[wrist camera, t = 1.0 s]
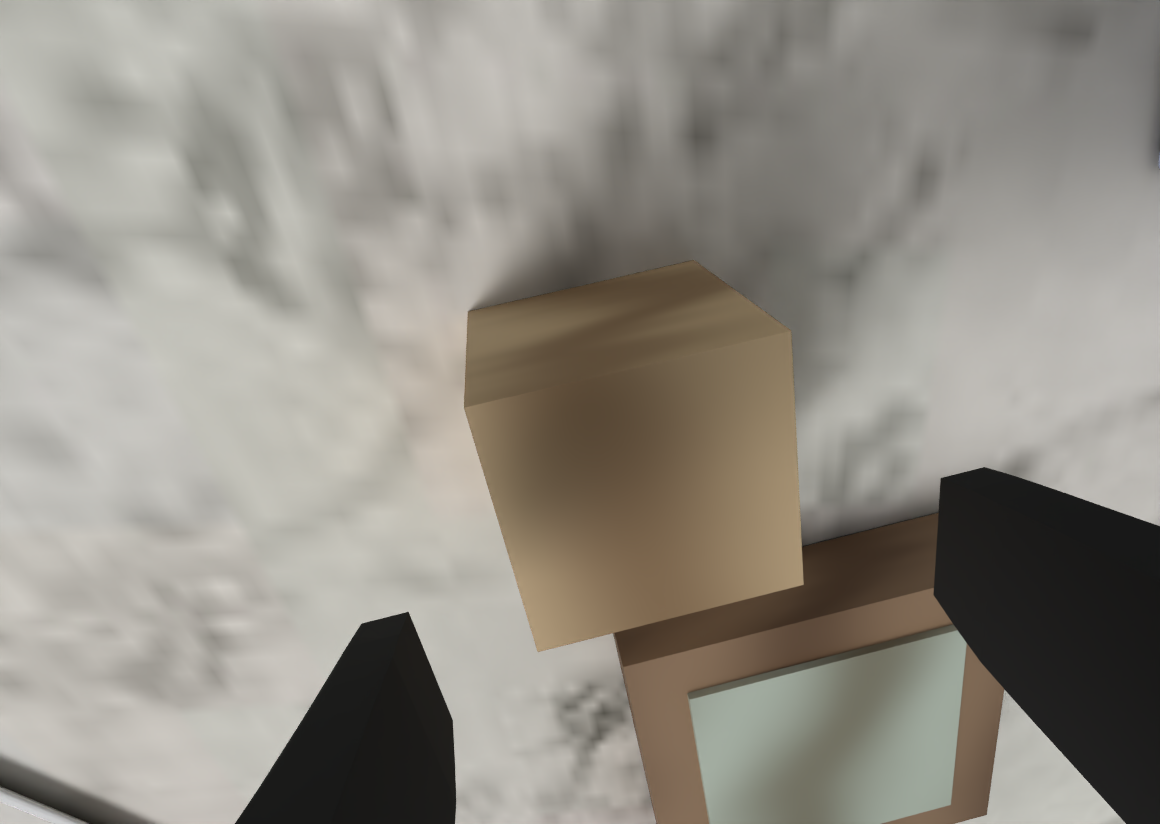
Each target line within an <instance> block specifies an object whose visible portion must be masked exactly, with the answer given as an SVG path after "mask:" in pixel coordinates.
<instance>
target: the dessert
mask: <svg viewBox="0 0 1160 824" xmlns="http://www.w3.org/2000/svg"><path fill="white" fill-rule="evenodd" d="M0 802H1V803H4V804H6V805H9V806H11V807H14V808H16V809H18V810H21V811H23V812H26V813H28V814H31V815H33V816H36V817H38V818H41V819H43V820H45V821H48V822H50V823H53V824H91V823H88V822H86V821H83V820H81V819H79V818H76V817H74V816H71V815H69V814H67V813H64V812H62V811H59V810H57V809H55V808H52V807H50V806H47V805H45V804H43V803H40V802H38V801H35V800H33V799H31V798H28V797H26V796H23V795H21V794H19V793H16V792H14V791H12V790H9V789H7V788H4V787H2V786H0Z"/></svg>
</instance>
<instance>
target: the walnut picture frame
mask: <svg viewBox="0 0 1160 824" xmlns="http://www.w3.org/2000/svg"><path fill="white" fill-rule="evenodd" d="M938 515H939V513H935V514H931V515H927V516H923V517H919V518H915V519H911V520H907V521H903V522H899V523H895V524H891V525H887V526H883V527H879V528H875V529H871V530H867V531H863V532H859V533H855V534H851V535H847V536H843V537H839V538H835V539H831V540H828V541H824V542H820V543H816V544H812V545H808V546H804V547H802V562H803V582H804V585H801V586H797V587H793V588H789V589H785V590H781V591H777V592H773V593H769V594H765V595H761V596H757V597H753V598H749V599H745V600H742V601H738V602H734V603H730V604H726V605H722V606H718V607H714V608H710V609H706V610H702V611H698V612H694V613H690V614H686V615H682V616H678V617H674V618H670V619H667V620H663V621H659V622H655V623H651V624H647V625H643V626H639V627H635V628H631V629H627V630H623V631H619V632H615V633H613V634H614V639H615V643H616V648H617V652H618V656H619V661H620V665H621V669H622V674H623V678H624V683H625V687H626V691H627V696H628V700H629V705H630V709H631V713H632V718H633V722H634V727H635V731H636V735H637V740H638V744H639V748H640V753H641V757H642V762H643V766H644V770H645V775H646V779H647V784H648V788H649V792H650V797H651V801H652V805H653V810H654V814H655V819H656V823H657V824H955V823H958V822H962V821H966V820H969V819H973V818H977V817H980V816H984V815H987V808H988V801H989V794H990V786H991V779H992V772H993V765H994V758H995V751H996V743H997V736H998V729H999V722H1000V715H1001V708H1002V700H1003V693H1004V688H1003V687H1002V686H1001V685H1000V684H999V683H998V681H997V680H996V679H995V678H994V677H993V676H992V675H991V673H990V672H989V671H988V670H987V669H986V668H985V667H984V665H983V664H982V663H981V662H980V661H979V659H978V658H977V656H976V655H975V654H974V652H973V651H972V650H971V648H970V647H969V646H968V644H967V643H966V641H965V640H964V639H963V637H962V636H961V635H960V633H959V632H958V630H957V629H956V627H955V626H954V625H953V623H952V622H951V620H950V619H949V617H948V616H947V614H946V613H945V611H944V610H943V608H942V607H941V605H940V604H939V602H938V601H937V600H936V598H935V597H934V595H933V594H934V578H935V562H936V546H937V530H938Z"/></svg>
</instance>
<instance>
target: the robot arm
mask: <svg viewBox="0 0 1160 824" xmlns="http://www.w3.org/2000/svg"><path fill="white" fill-rule="evenodd" d="M1159 168H1160V153H1159ZM933 595H934V597H935V598H936V600H937V601H938V602H939V604H940V605H941V607H942V608H943V610H944V611H945V613H946V614H947V616H948V617H949V619H950V620H951V622H952V623H953V625H954V626H955V627H956V629H957V630H958V632H959V633H960V635H961V636H962V637H963V639H964V640H965V641H966V643H967V644H968V646H969V647H970V648H971V650H972V651H973V652H974V654H975V655H976V656H977V658H978V659H979V661H980V662H981V663H982V664H983V665H984V667H985V668H986V669H987V670H988V671H989V672H990V673H991V675H992V676H993V677H994V678H995V679H996V680H997V681H998V683H999V684H1000V685H1001V686H1002V687H1003V688H1004V689H1005V690H1006V691H1007V693H1008V694H1009V695H1010V696H1011V697H1012V698H1013V699H1014V700H1015V702H1016V703H1017V704H1018V705H1019V706H1020V707H1021V708H1022V709H1023V710H1024V712H1025V713H1026V714H1027V715H1028V716H1029V717H1030V718H1031V719H1032V720H1033V722H1034V723H1035V724H1036V725H1037V726H1038V727H1039V728H1040V729H1041V730H1042V731H1043V733H1044V734H1045V735H1046V736H1047V737H1048V738H1049V739H1050V740H1051V741H1052V742H1053V744H1054V745H1055V746H1056V747H1057V748H1058V749H1059V750H1060V751H1061V752H1062V753H1063V755H1064V756H1065V757H1066V758H1067V759H1068V760H1069V761H1070V762H1071V763H1072V764H1073V766H1074V767H1075V768H1076V769H1077V770H1078V771H1079V772H1080V773H1081V774H1082V775H1083V777H1084V778H1085V779H1086V780H1087V781H1088V782H1089V783H1090V784H1091V785H1092V787H1093V788H1094V789H1095V790H1096V791H1097V792H1098V793H1099V794H1100V795H1101V796H1102V798H1103V799H1104V800H1105V801H1106V802H1107V803H1108V804H1109V805H1110V806H1111V807H1112V809H1113V810H1114V811H1115V812H1116V813H1117V814H1118V815H1119V816H1120V817H1121V818H1122V820H1123V821H1124V822H1125V823H1126V824H1160V526H1157V525H1154V524H1152V523H1149V522H1146V521H1143V520H1140V519H1137V518H1134V517H1132V516H1129V515H1126V514H1123V513H1120V512H1117V511H1114V510H1112V509H1109V508H1106V507H1103V506H1100V505H1097V504H1094V503H1092V502H1089V501H1086V500H1083V499H1080V498H1077V497H1075V496H1072V495H1069V494H1066V493H1063V492H1060V491H1057V490H1054V489H1052V488H1049V487H1046V486H1043V485H1040V484H1037V483H1034V482H1031V481H1028V480H1025V479H1022V478H1019V477H1016V476H1012V475H1009V474H1006V473H1003V472H999V471H996V470H992V469H989V468H985V467H983V468H979V469H975V470H971V471H967V472H963V473H960V474H956V475H952V476H948V477H944V478H941V483H940V499H939V515H938V530H937V546H936V562H935V578H934V594H933ZM455 812H456V783H455V757H454V738H453V720H452V717H451V715H450V713H449V710H448V708H447V705H446V703H445V700H444V698H443V695H442V693H441V690H440V688H439V686H438V683H437V681H436V678H435V676H434V673H433V671H432V668H431V666H430V663H429V661H428V659H427V656H426V654H425V651H424V649H423V646H422V644H421V641H420V639H419V637H418V634H417V632H416V629H415V627H414V624H413V622H412V619H411V617H410V614H409V612H406V613H402V614H398V615H394V616H390V617H386V618H382V619H378V620H374V621H370V622H366V623H362V624H361V626H360V627H359V629H358V630H357V632H356V633H355V635H354V636H353V638H352V640H351V641H350V643H349V644H348V646H347V647H346V649H345V651H344V652H343V654H342V656H341V657H340V659H339V661H338V662H337V664H336V665H335V667H334V669H333V670H332V672H331V674H330V675H329V677H328V679H327V680H326V682H325V684H324V685H323V687H322V689H321V690H320V692H319V693H318V695H317V697H316V698H315V700H314V702H313V703H312V705H311V707H310V708H309V710H308V711H307V713H306V715H305V716H304V718H303V720H302V721H301V723H300V724H299V726H298V728H297V729H296V731H295V732H294V734H293V735H292V737H291V739H290V740H289V742H288V743H287V745H286V746H285V748H284V750H283V751H282V753H281V754H280V756H279V757H278V759H277V761H276V762H275V764H274V765H273V767H272V768H271V770H270V772H269V773H268V775H267V776H266V778H265V779H264V781H263V783H262V784H261V786H260V787H259V789H258V790H257V792H256V793H255V795H254V796H253V798H252V799H251V801H250V802H249V804H248V805H247V807H246V808H245V810H244V811H243V813H242V814H241V815H240V817H239V818H238V820H237V821H236V823H235V824H455Z"/></svg>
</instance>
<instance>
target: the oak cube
mask: <svg viewBox="0 0 1160 824" xmlns="http://www.w3.org/2000/svg"><path fill="white" fill-rule="evenodd" d="M464 409H465V413H466V416H467V419H468V423H469V426H470V429H471V433H472V436H473V439H474V442H475V446H476V449H477V452H478V456H479V459H480V462H481V466H482V469H483V472H484V476H485V479H486V482H487V486H488V489H489V492H490V495H491V499H492V502H493V505H494V509H495V512H496V515H497V519H498V522H499V525H500V529H501V532H502V535H503V538H504V542H505V545H506V548H507V552H508V555H509V558H510V562H511V565H512V568H513V572H514V575H515V578H516V581H517V585H518V588H519V591H520V595H521V598H522V601H523V605H524V608H525V611H526V615H527V618H528V621H529V625H530V628H531V631H532V634H533V638H534V641H535V644H536V648H537V651H538V652H540V651H544V650H548V649H552V648H556V647H560V646H564V645H568V644H572V643H576V642H580V641H584V640H588V639H592V638H595V637H599V636H603V635H607V634H611V633H615V632H619V631H623V630H627V629H631V628H635V627H639V626H643V625H647V624H651V623H655V622H659V621H663V620H667V619H670V618H674V617H678V616H682V615H686V614H690V613H694V612H698V611H702V610H706V609H710V608H714V607H718V606H722V605H726V604H730V603H734V602H738V601H742V600H745V599H749V598H753V597H757V596H761V595H765V594H769V593H773V592H777V591H781V590H785V589H789V588H793V587H797V586H801V585H804V582H803V562H802V541H801V520H800V500H799V479H798V458H797V438H796V417H795V396H794V376H793V355H792V334H791V330H789V329H788V328H787V327H785V326H784V325H783V324H781V323H780V322H778V321H777V320H776V319H774V318H773V317H772V316H770V315H769V314H767V313H766V312H765V311H763V310H762V309H761V308H759V307H758V306H756V305H755V304H754V303H752V302H751V301H750V300H748V299H747V298H745V297H744V296H743V295H741V294H740V293H738V292H737V291H736V290H734V289H733V288H732V287H730V286H729V285H727V284H726V283H725V282H723V281H722V280H721V279H719V278H718V277H716V276H715V275H714V274H712V273H711V272H710V271H708V270H707V269H705V268H704V267H703V266H701V265H700V264H698V263H697V262H696V261H694V260H692V261H688V262H683V263H679V264H674V265H670V266H666V267H661V268H657V269H653V270H648V271H644V272H639V273H635V274H631V275H626V276H622V277H617V278H613V279H609V280H604V281H600V282H596V283H591V284H587V285H582V286H578V287H574V288H569V289H565V290H560V291H556V292H552V293H547V294H543V295H539V296H534V297H530V298H525V299H521V300H517V301H512V302H508V303H503V304H499V305H495V306H490V307H486V308H482V309H477V310H473V311H468V321H467V346H466V371H465V395H464Z"/></svg>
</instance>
